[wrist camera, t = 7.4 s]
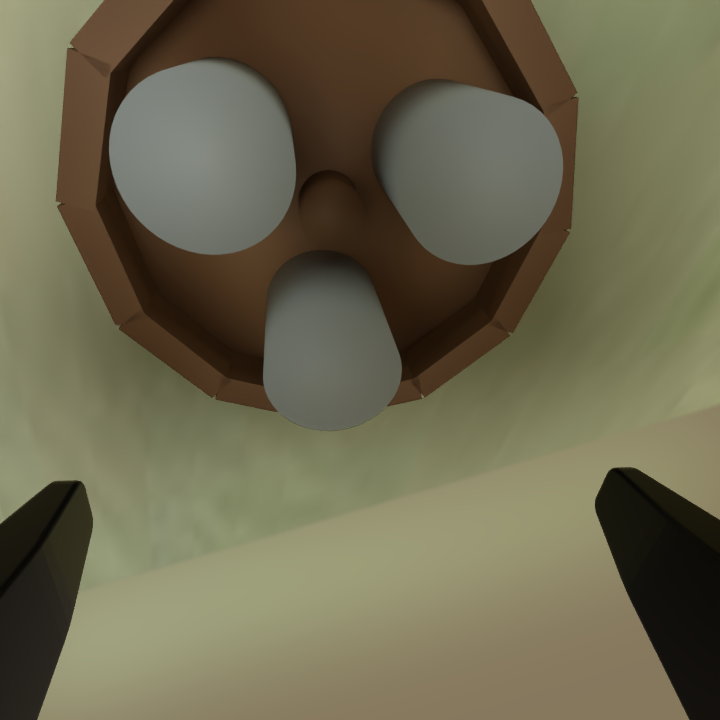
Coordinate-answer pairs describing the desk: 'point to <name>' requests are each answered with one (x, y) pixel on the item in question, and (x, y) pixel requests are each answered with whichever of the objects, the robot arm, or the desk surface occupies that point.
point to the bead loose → (327, 343)
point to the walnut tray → (308, 175)
